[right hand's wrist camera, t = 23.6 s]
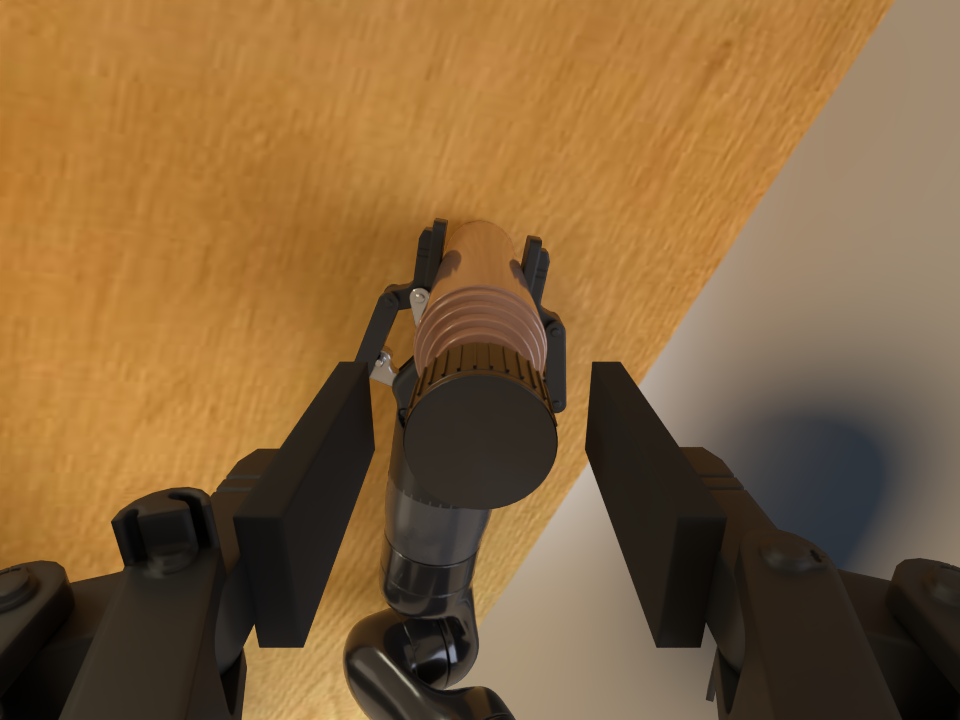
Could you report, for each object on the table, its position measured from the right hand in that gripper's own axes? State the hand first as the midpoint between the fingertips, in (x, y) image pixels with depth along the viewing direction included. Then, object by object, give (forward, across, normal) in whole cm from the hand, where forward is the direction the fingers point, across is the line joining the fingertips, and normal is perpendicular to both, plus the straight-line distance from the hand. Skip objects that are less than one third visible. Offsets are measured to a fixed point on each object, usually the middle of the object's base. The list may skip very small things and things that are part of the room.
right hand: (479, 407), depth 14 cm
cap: (-2, 0, 0) cm, 2 cm away
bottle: (+24, 0, 0) cm, 24 cm away
